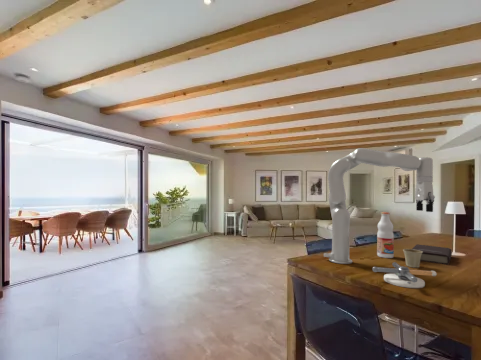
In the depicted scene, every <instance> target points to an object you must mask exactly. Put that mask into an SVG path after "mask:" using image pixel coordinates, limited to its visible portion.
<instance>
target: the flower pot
mask: <svg viewBox="0 0 481 360" xmlns="http://www.w3.org/2000/svg"><path fill="white" fill-rule="evenodd" d="M402 251H403V254H404V258H405V267H408V268H413V269H415V268H420V264H421V261H420V259H421V255H422V253H423V252H422V251H420V250H414V249H412V248H403V249H402Z"/></svg>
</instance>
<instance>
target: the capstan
mask: <svg viewBox="0 0 481 360" xmlns="http://www.w3.org/2000/svg"><path fill="white" fill-rule="evenodd" d="M391 265H392V267H378V266H373V267H372V268H371V269H372V272H374V273H377V272H379V273H388V274H395V273H398V278H400V279H403V280H411V281H412V282H417V278H418V277H417V275H418V276H419V275H420V276H432V277H436V276H437V272H436V271H435V270H420V269H410V268H409V266H404V265H403V266H402V265H400V264H398V263H397V262H396V261H393V262H392V264H391ZM393 267H394V268H393ZM415 275H416V276H415ZM416 277H417V278H416Z"/></svg>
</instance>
